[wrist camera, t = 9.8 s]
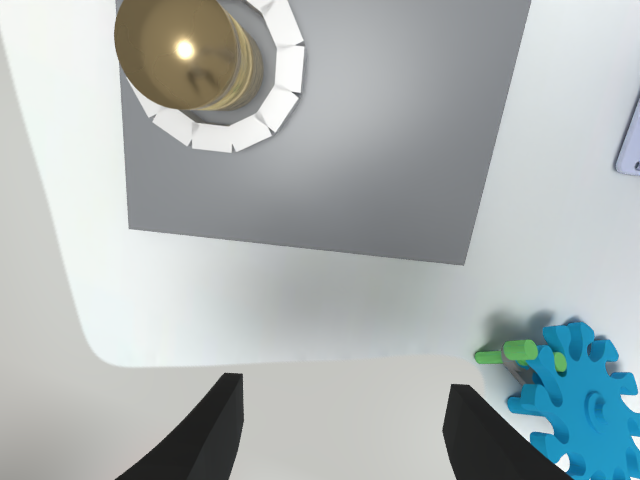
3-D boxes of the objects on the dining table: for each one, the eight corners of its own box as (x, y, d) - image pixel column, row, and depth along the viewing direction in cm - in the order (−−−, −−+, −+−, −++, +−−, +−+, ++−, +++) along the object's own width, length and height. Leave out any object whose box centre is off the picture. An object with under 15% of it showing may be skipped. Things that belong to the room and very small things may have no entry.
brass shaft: (263, 23, 17) (233, -21, 12) (263, 113, 19) (235, 112, 13) (178, 18, 17) (106, -28, 12) (184, 108, 19) (121, 106, 13)
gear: (672, 400, 23) (651, 573, 18) (575, 395, 28) (537, 529, 23) (563, 271, 22) (506, 416, 17) (482, 289, 27) (420, 405, 22)
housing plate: (525, -14, 18) (556, -34, 15) (458, 259, 22) (473, 276, 20) (123, -64, 17) (90, -93, 15) (137, 223, 22) (114, 237, 19)
